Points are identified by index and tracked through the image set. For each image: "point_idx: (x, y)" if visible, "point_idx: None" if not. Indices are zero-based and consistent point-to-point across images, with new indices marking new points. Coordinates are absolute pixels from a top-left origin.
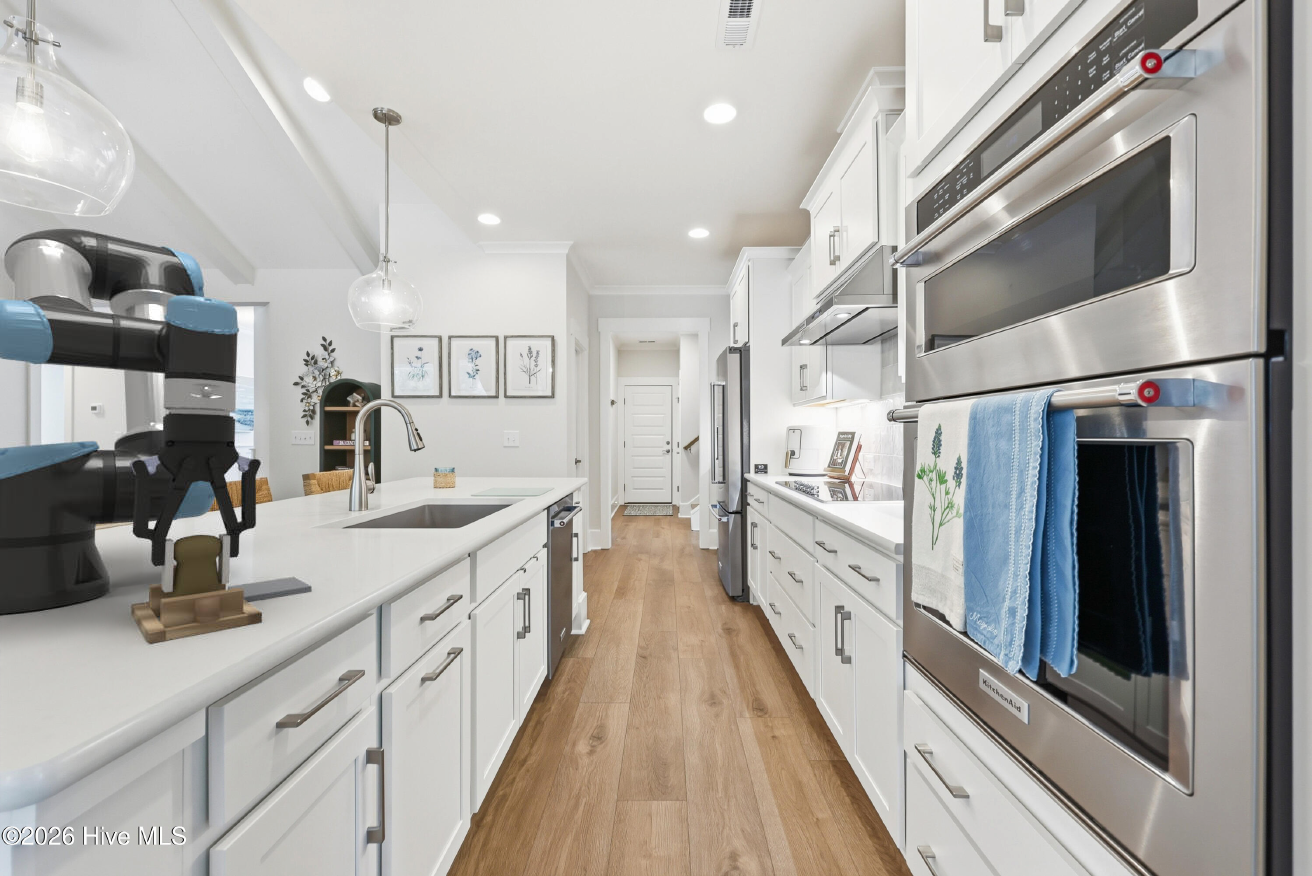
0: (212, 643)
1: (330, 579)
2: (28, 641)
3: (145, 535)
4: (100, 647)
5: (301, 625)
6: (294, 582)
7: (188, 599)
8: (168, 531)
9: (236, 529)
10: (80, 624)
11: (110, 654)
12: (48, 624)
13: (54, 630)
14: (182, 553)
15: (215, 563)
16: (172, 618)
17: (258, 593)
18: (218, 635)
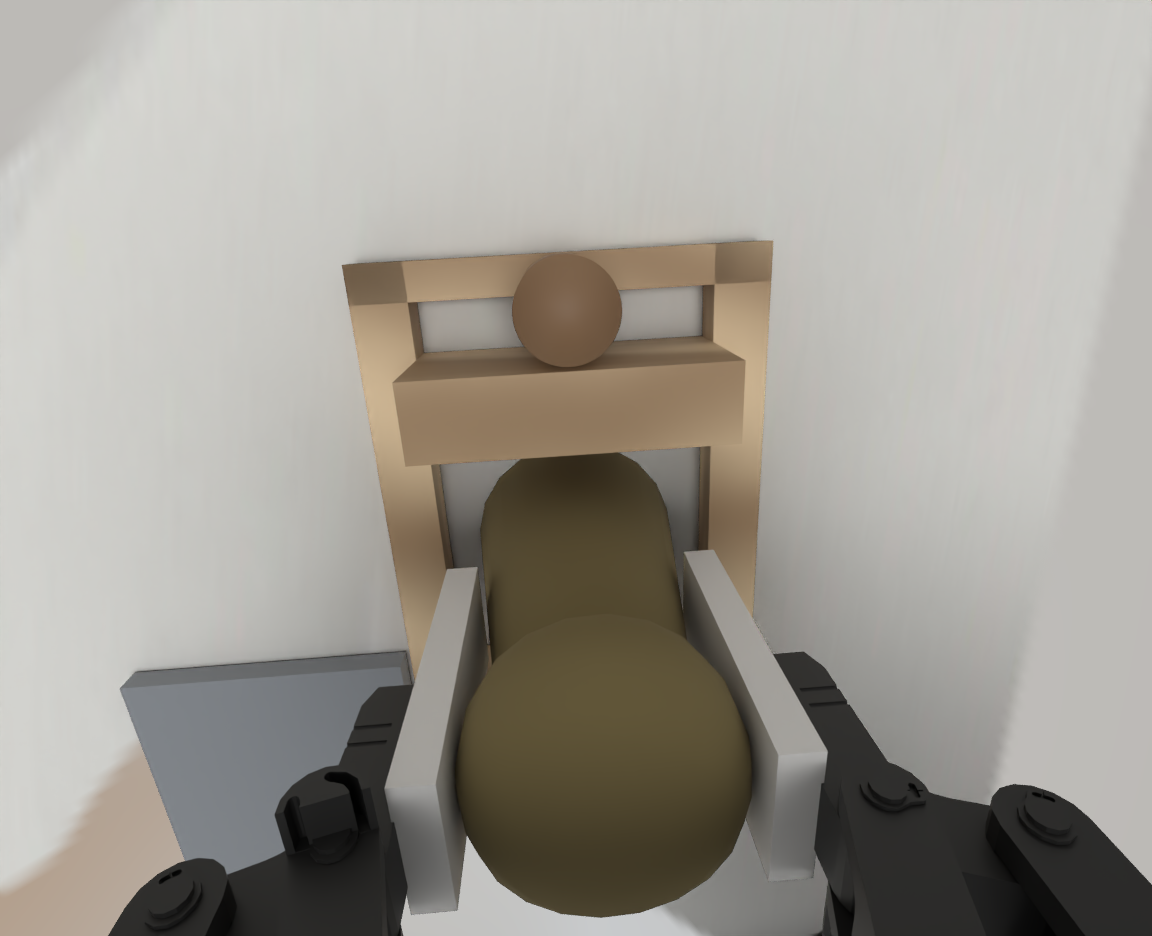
0: (565, 39)
1: (53, 825)
2: (1006, 573)
3: (1001, 804)
4: (881, 328)
5: (186, 49)
6: (192, 792)
7: (641, 368)
8: (852, 839)
9: (318, 844)
10: (867, 685)
11: (876, 191)
12: (928, 741)
13: (931, 659)
14: (698, 662)
15: (501, 647)
16: (686, 347)
17: (338, 692)
18: (530, 169)
